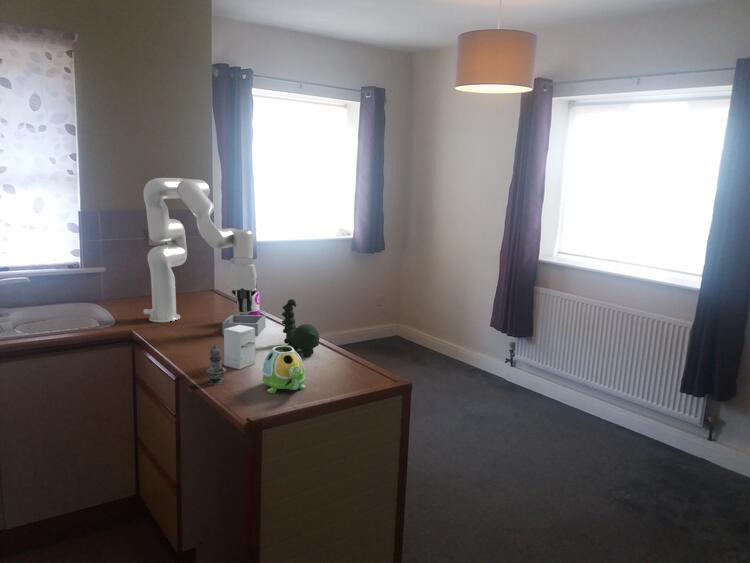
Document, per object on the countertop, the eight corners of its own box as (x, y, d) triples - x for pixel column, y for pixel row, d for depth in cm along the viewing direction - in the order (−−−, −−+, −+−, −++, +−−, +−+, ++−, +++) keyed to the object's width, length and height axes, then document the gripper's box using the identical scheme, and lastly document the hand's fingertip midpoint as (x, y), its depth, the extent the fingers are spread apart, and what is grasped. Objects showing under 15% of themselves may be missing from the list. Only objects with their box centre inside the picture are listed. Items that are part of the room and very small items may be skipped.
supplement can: (261, 320, 252) (261, 286, 249) (256, 324, 244) (255, 290, 241) (243, 319, 253) (243, 285, 250) (237, 324, 245) (236, 289, 242)
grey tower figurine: (208, 378, 180) (207, 340, 177) (227, 378, 180) (226, 340, 178) (204, 384, 174) (203, 346, 172) (224, 384, 174) (223, 346, 172)
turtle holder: (276, 403, 161) (276, 362, 159) (257, 382, 177) (256, 345, 175) (317, 396, 167) (317, 357, 165) (295, 377, 183) (295, 340, 181)
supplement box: (240, 369, 188) (239, 332, 186) (223, 365, 192) (222, 328, 189) (256, 364, 194) (255, 327, 192) (239, 359, 198) (239, 324, 196)
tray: (222, 334, 228) (222, 322, 227) (232, 325, 241) (231, 314, 241) (257, 335, 227) (257, 324, 227) (265, 326, 241) (265, 315, 240)
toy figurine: (276, 348, 217) (303, 361, 196) (274, 298, 215) (301, 306, 194) (299, 345, 222) (328, 357, 201) (297, 296, 220) (326, 303, 199)
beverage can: (245, 310, 237) (245, 281, 235) (254, 312, 233) (254, 283, 231) (234, 312, 233) (233, 283, 230) (243, 315, 229) (242, 285, 227)
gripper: (220, 262, 226) (221, 308, 229) (262, 263, 225) (262, 309, 229) (225, 259, 233) (226, 304, 236) (266, 260, 233) (266, 305, 236)
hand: (244, 306), depth 233 cm, fingers closed on beverage can, 3 cm apart
